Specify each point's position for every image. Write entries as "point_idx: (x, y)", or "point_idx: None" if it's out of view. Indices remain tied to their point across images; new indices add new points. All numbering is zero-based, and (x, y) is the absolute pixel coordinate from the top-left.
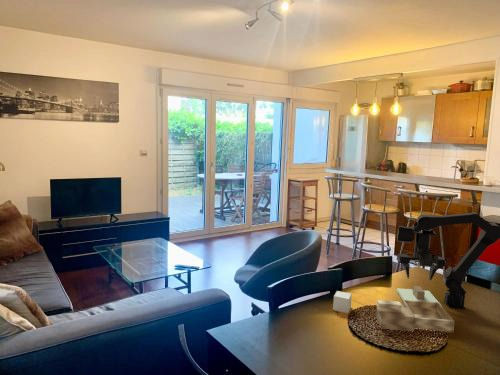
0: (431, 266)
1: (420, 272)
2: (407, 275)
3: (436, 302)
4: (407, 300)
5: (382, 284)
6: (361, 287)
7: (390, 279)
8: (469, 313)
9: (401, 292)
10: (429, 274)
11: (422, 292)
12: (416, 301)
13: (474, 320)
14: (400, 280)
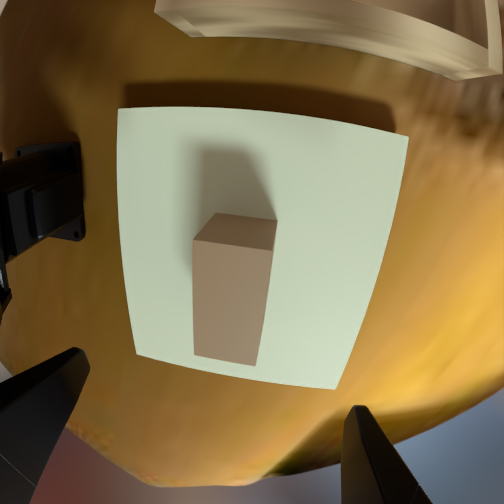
0: (9, 485)
1: (143, 470)
2: (385, 438)
3: (172, 7)
4: (466, 47)
5: None
6: (479, 388)
7: (284, 462)
8: (22, 100)
9: (342, 337)
10: (67, 417)
11: (218, 239)
12: (387, 12)
13: (38, 20)
14: (241, 455)
